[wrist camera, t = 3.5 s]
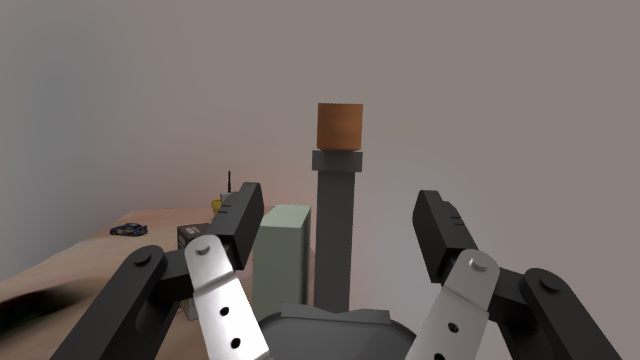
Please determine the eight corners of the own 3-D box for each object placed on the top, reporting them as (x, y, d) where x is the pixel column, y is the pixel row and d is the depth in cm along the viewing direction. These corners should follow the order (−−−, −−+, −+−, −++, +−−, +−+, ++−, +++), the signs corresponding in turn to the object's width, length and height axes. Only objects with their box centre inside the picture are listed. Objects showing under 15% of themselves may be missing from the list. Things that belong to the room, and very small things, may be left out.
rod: (316, 147, 17) (318, 103, 17) (327, 153, 41) (327, 134, 41) (360, 149, 17) (362, 104, 17) (345, 153, 41) (346, 135, 41)
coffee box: (177, 300, 54) (176, 226, 53) (209, 290, 58) (208, 221, 57) (188, 322, 47) (187, 237, 46) (223, 309, 51) (223, 231, 50)
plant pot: (236, 218, 125) (236, 198, 124) (234, 223, 115) (234, 202, 114) (213, 218, 122) (213, 198, 121) (209, 224, 112) (209, 202, 111)
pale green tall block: (251, 432, 29) (252, 225, 27) (275, 351, 41) (278, 204, 38) (294, 437, 28) (300, 227, 26) (306, 354, 40) (311, 205, 38)
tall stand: (303, 437, 28) (312, 150, 25) (312, 354, 40) (319, 152, 37) (348, 442, 28) (362, 152, 25) (344, 357, 40) (353, 153, 37)
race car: (100, 236, 93) (99, 224, 93) (115, 231, 100) (115, 220, 99) (140, 238, 93) (140, 226, 92) (153, 233, 99) (152, 221, 99)
